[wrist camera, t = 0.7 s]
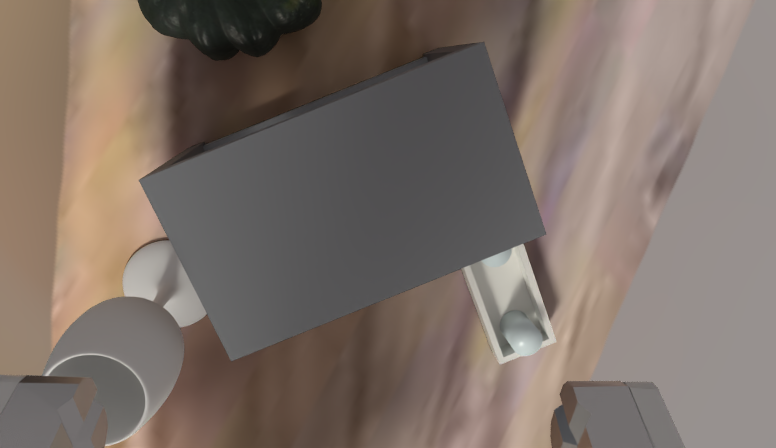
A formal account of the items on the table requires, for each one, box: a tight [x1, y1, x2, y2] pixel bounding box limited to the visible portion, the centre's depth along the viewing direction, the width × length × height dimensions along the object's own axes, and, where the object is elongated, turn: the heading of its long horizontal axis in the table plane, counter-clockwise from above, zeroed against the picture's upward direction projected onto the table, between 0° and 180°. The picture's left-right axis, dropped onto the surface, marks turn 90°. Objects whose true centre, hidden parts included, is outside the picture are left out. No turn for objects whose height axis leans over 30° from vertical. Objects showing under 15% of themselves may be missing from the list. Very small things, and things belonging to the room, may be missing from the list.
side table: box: [139, 42, 546, 361], centre depth 50 cm, size 14×24×16 cm, turn 111°
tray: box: [461, 244, 556, 364], centre depth 60 cm, size 14×6×5 cm, turn 21°
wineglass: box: [42, 240, 207, 446], centre depth 48 cm, size 9×9×21 cm
